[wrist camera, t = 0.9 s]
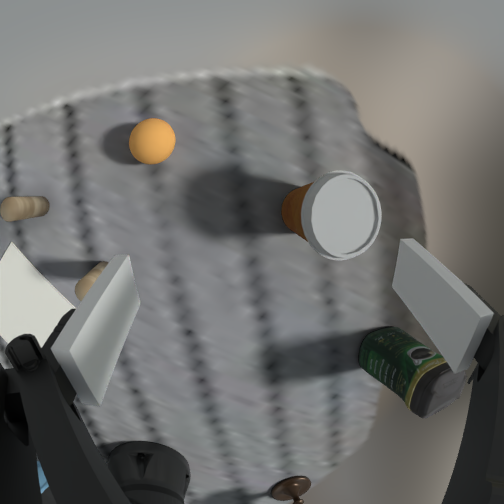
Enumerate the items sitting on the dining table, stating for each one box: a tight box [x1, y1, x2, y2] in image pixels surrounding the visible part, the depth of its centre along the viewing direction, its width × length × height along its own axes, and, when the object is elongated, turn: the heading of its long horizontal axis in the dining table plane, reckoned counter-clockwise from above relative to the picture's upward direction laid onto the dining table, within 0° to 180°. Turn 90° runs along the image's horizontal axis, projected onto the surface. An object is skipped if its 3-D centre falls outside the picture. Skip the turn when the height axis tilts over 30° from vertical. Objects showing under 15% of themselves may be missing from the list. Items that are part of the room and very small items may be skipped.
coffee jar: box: [359, 327, 467, 418], centre depth 40 cm, size 10×8×19 cm
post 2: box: [75, 261, 108, 301], centre depth 32 cm, size 3×3×9 cm
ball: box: [129, 118, 175, 164], centre depth 33 cm, size 6×6×6 cm
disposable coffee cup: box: [281, 170, 381, 260], centre depth 36 cm, size 10×10×12 cm
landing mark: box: [0, 242, 76, 348], centre depth 34 cm, size 14×14×1 cm
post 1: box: [0, 196, 49, 222], centre depth 28 cm, size 3×3×9 cm
